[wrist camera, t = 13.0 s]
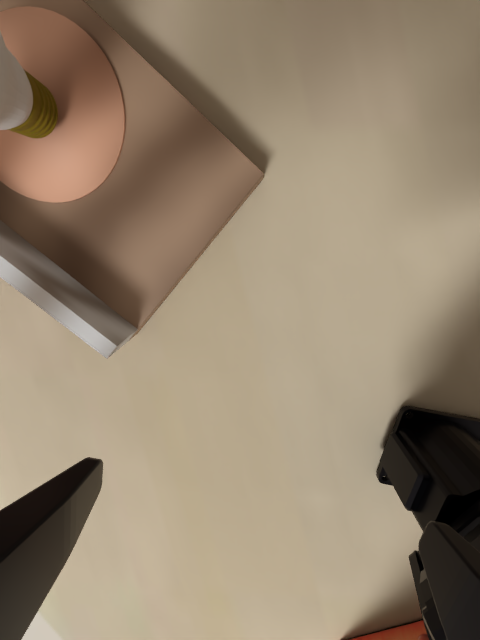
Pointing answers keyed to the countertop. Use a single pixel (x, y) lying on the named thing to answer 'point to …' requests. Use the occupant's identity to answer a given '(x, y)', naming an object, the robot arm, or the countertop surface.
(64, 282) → the board
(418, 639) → the cracker box
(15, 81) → the light bulb
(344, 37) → the countertop surface
